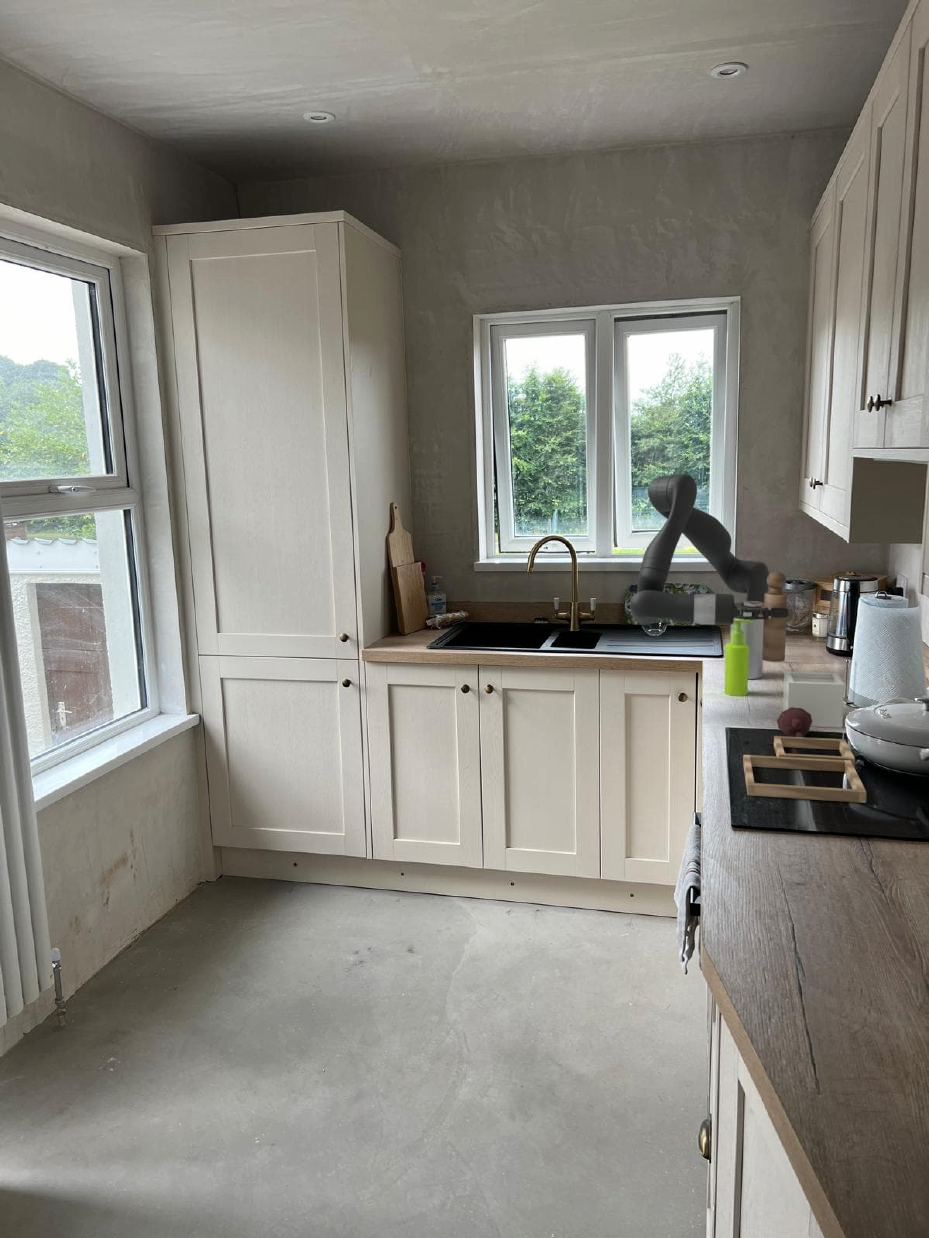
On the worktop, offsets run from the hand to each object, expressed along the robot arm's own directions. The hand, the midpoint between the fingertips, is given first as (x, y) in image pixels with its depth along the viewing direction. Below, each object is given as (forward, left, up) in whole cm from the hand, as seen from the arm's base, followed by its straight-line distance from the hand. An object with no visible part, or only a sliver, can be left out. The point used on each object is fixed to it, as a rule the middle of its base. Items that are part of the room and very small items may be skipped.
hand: (786, 610), depth 218 cm
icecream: (+18, +1, -26) cm, 32 cm away
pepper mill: (0, -3, -12) cm, 12 cm away
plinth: (+3, +6, -26) cm, 27 cm away
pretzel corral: (+49, -1, -26) cm, 55 cm away
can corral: (+32, +3, -26) cm, 41 cm away
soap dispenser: (-20, -10, -26) cm, 34 cm away
